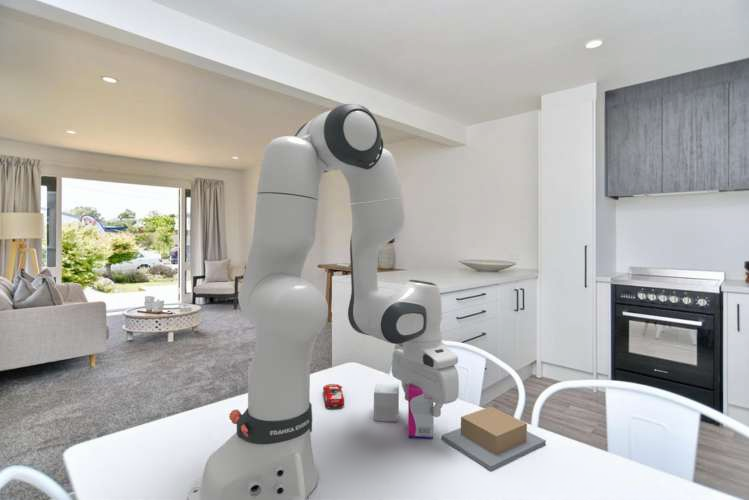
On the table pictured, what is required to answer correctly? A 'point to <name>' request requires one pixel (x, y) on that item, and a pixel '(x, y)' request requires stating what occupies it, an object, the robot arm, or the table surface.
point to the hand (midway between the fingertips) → (421, 407)
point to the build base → (486, 454)
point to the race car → (333, 396)
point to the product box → (386, 402)
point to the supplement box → (419, 413)
